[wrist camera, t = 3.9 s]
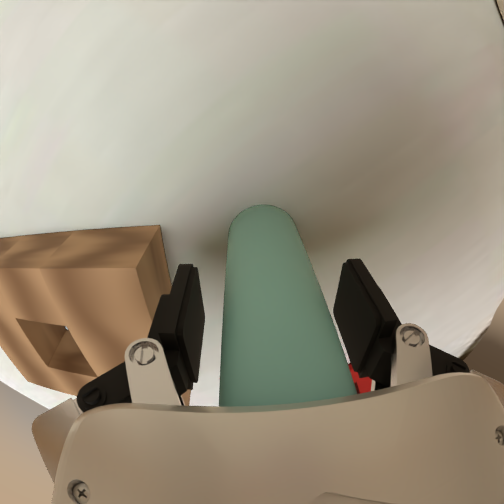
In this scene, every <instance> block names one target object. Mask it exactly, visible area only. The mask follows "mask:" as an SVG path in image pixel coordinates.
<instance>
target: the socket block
mask: <svg viewBox="0 0 504 504" xmlns="http://www.w3.org/2000/svg"><path fill="white" fill-rule="evenodd" d="M171 288H172V286H171V281H170V276H169V272H168V267H167V262H166V257H165V251H164V246H163V240H162V235H161V229H160V225H154V226H137V227H121V228H106V229H93V230H80V231H68V232H56V233H45V234H35V235H25V236H16V237H7V238H0V346H1V348H2V349H3V350H4V352H5V353H6V354H7V356H8V357H9V359H10V360H11V361H12V362H13V364H14V365H15V366H16V368H17V369H18V370H19V371H20V373H21V374H22V375H23V376H24V377H25V379H26V380H27V381H28V382H31V383H34V384H37V385H40V386H43V387H46V388H50V389H53V390H56V391H60V392H63V393H67V394H71V395H75V396H77V394H78V392H79V390H80V389H81V388H82V387H83V386H84V385H85V384H87V383H88V382H90V381H92V380H94V379H95V378H97V377H99V376H101V375H102V374H104V373H106V372H107V371H109V370H111V369H113V368H114V367H116V366H118V365H119V364H121V363H123V362H124V361H125V351H126V349H127V347H128V346H129V345H130V344H131V343H133V342H134V341H136V340H138V339H142V338H147V337H148V334H149V330H150V327H151V324H152V321H153V318H154V315H155V312H156V309H157V306H158V303H159V300H160V297H161V295H162V294H170V291H171ZM64 326H67V328H68V330H69V331H68V330H66V329H65V327H64ZM190 393H191V390H188V389H187V391H186V392H185V393H184V394H182V395H181V396H182V398H183V401H184V404H185V406H189V402H190Z"/></svg>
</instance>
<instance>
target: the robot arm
mask: <svg viewBox="0 0 504 504" xmlns="http://www.w3.org/2000/svg"><path fill="white" fill-rule="evenodd" d="M496 1H497V4H498V7H499V10H500V13H501V15H502V18H503V20H504V0H496ZM333 313H334V317H335V320H336V323H337V325H338V328H339V331H340V333H341V336H342V339H343V342H344V345H345V347H346V350H347V353H348V356H349V359H350V362H351V365H352V368H353V370H354V372H358V375H359V378H364V377H369V378H370V379H372V385H371V392H366V393H361V394H355V395H350V396H344V397H338V398H332V399H325V400H317V401H309V402H300V403H290V404H278V405H262V406H232V407H216V406H185V404H184V401H183V398H182V396H181V395H182V394H184V393H185V392H186V391H187V389H188V390H192V389H193V382H194V383H197V382H198V375H199V366H200V357H201V348H202V340H203V332H204V324H205V313H204V307H203V301H202V294H201V287H200V281H199V274H198V268H197V267H193V264H179V266H178V269H177V272H176V276H175V279H174V282H173V285H172V288H171V291H170V294H162V295H161V297H160V300H159V303H158V306H157V309H156V312H155V315H154V318H153V321H152V324H151V327H150V330H149V334H148V337H147V338H142V339H138V340H136V341H134V342H133V343H131V344H130V345H129V346H128V347H127V349H126V351H125V361H124V362H123V363H121V364H119V365H118V366H116V367H114V368H113V369H111V370H109V371H107V372H106V373H104V374H102V375H101V376H99V377H97V378H95V379H94V380H92V381H90V382H88V383H87V384H85V385H84V386H83V387H82V388H81V389H80V390H79V392H78V394H77V398H76V399H74V400H72V398H70V399H68V400H66V401H65V402H63V403H61V404H59V405H57V406H56V407H54V408H52V409H50V410H48V411H47V412H45V413H43V414H41V415H39V416H38V417H37V418H36V419H35V420H34V421H33V424H32V433H33V436H34V439H35V441H36V444H37V446H38V449H39V451H40V454H41V456H42V458H43V461H44V463H45V465H46V467H47V470H48V472H49V474H50V476H51V478H52V480H53V482H54V491H53V498H52V504H504V385H503V384H502V383H500V382H499V381H496V380H494V379H492V378H490V377H487V376H485V375H483V374H481V373H479V372H476V371H474V370H471V372H469V368H468V366H467V365H466V363H465V362H464V361H462V360H461V359H459V358H457V357H455V356H453V355H450V354H448V353H446V352H444V351H442V350H440V349H437V348H435V347H433V346H431V345H429V341H428V336H427V334H426V332H425V331H424V330H423V329H422V328H421V327H419V326H417V325H415V324H411V323H406V324H401V322H400V321H399V319H398V317H397V315H396V314H395V312H394V310H393V309H392V307H391V305H390V304H389V302H388V300H387V299H386V297H385V295H384V294H383V292H382V291H381V289H380V288H379V287H378V285H377V284H376V282H375V281H374V279H373V277H372V276H371V274H370V273H369V271H368V270H367V268H366V267H365V265H364V264H363V262H362V260H361V259H348V260H347V261H346V262H345V263H343V265H342V271H341V276H340V281H339V285H338V290H337V295H336V299H335V304H334V308H333Z"/></svg>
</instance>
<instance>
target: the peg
mask: <svg viewBox="0 0 504 504" xmlns="http://www.w3.org/2000/svg"><path fill="white" fill-rule="evenodd" d="M355 394H357V391H356V388H355V385H354V382H353V379H352V375H351V372H350V369H349V366H348V363H347V360H346V357H345V354H344V352H343V349H342V346H341V343H340V340H339V337H338V334H337V331H336V329H335V326H334V323H333V320H332V318H331V315H330V312H329V309H328V307H327V304H326V301H325V299H324V296H323V293H322V291H321V288H320V286H319V283H318V280H317V278H316V275H315V273H314V270H313V268H312V265H311V263H310V260H309V258H308V255H307V253H306V250H305V248H304V245H303V243H302V240H301V238H300V235H299V233H298V231H297V228H296V226H295V224H294V222H293V220H292V218H291V217H290V216H289V215H288V214H287V213H286V212H285V211H283V210H282V209H280V208H278V207H275V206H270V205H257V206H253V207H250V208H248V209H246V210H244V211H242V212H241V213H240V214H239V215H238V216H237V217H236V218H235V219H234V221H233V222H232V224H231V226H230V229H229V235H228V248H227V262H226V277H225V292H224V308H223V326H222V345H221V366H220V391H219V407H232V406H262V405H278V404H290V403H300V402H309V401H317V400H325V399H332V398H338V397H344V396H350V395H355Z"/></svg>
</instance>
